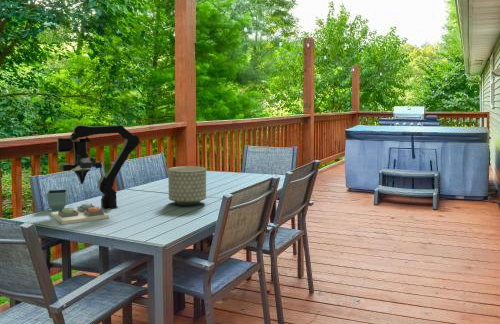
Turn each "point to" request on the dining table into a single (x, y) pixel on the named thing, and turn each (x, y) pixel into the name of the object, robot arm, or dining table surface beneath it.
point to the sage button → (67, 210)
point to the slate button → (86, 205)
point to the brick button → (93, 209)
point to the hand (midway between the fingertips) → (81, 183)
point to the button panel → (79, 216)
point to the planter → (187, 184)
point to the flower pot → (57, 199)
